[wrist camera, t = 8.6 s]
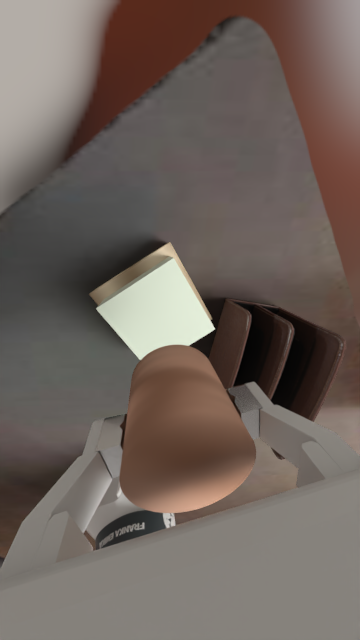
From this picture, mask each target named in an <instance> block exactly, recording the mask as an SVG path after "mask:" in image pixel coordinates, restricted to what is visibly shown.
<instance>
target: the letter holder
mask: <svg viewBox="0 0 360 640" xmlns="http://www.w3.org/2000/svg"><path fill="white" fill-rule="evenodd" d="M345 351H346V342H345V340H344V339H343V337H341V336H340V335H338V334H336V333H334V332H332V331H330V330H327V329H325V328H323V327H321V326H318V325H316V324H314V323H312V322H309V321H307V320H305V319H303V318H301V317H299V316H297V315H295V314H292V313H290V312H288V311H286V310H284V309H282V308H280V307H277V306H271V305H265V304H260V303H254V302H248V301H241V300H235V299H229V298H226V300H225V304H224V307H223V311H222V314H221V317H220V321H219V325H218V328H217V331H216V335H215V338H214V342H213V345H212V349H211V352H210V356H209V359H208V360H209V361H210V363H211V365H212V367H213V368H214V370H215V372H216V374H217V376H218V378H219V379H220V381H221V383H222V385H223V387H224V388H225V390H226V389H227V388H231V387H235V386H238V385H242V384H246V383H250V382H255V383H256V384H257V385H258V386H259V387H260V389H261V390H262V391H263V392H264V394H265V395H266V396H267V397H268V398H269V400H270V401H271V402H272V403H273V405H279V406H281V407H283V408H285V409H287V410H289V411H291V412H293V413H296V414H298V415H300V416H302V417H304V418H306V419H308V420H310V421H312V422H314V420H315V418H316V416H317V414H318V413H319V411H320V409H321V407H322V405H323V403H324V401H325V399H326V397H327V395H328V393H329V391H330V388H331V386H332V384H333V382H334V379H335V377H336V375H337V373H338V370H339V368H340V365H341V362H342V359H343V357H344V354H345ZM271 449H272V450H273V452H274V454H275V455H276V456H277V458H279V459H281V460H282V459H285V458H284V457H283V456H282V455H280V454H279V453H278V452H277V451H275V450H274V449H273V448H271Z"/></svg>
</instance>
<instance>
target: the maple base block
mask: <svg viewBox="0 0 360 640" xmlns="http://www.w3.org/2000/svg"><path fill="white" fill-rule="evenodd" d="M169 256H170V257H173V258H174V259H175V261H176V263H177V264H178V266H179V268H180V270H181V271H182V273H183V275H184V276H185V278H186V280H187V282H188V283H189V285H190V287H191V288H192V290H193V292H194V294H195V295H196V297H197V299H198V300H199V302H200V304H201V306H202V307H203V309H204V311H205V312H206V314H207V316H208V318H209V319H210V320H212V317H211V315H210V313H209V311H208V310H207V308H206V306H205V304H204V302H203V301H202V299H201V297H200V295H199V293H198V292H197V290H196V288H195V286H194V284H193V283H192V281H191V279H190V277H189V275H188V274H187V272H186V270H185V268H184V266H183V265H182V263H181V261H180V259H179V257H178V256H177V254H176V252H175V250H174V248H173V247H172V245H171V243H170V242H169V243H166V244H165V245H163V246H162V247H160V248H159V249H157V250H156V251H154V252H152V253H151V254H149V255H148V256H146V257H145V258H143V259H142V260H140V261H138V262H137V263H135V264H134V265H132V266H131V267H129V268H127V269H126V270H124V271H123V272H121V273H120V274H118V275H117V276H115V277H113V278H112V279H110V280H109V281H107V282H106V283H104V284H103V285H101V286H99V287H98V288H96V289H95V290H94V291H92V292H91V293H90V294H89V295H90V296H91V297H92V298H93V300H94V301H95V302H96V303H97V305H98V306H99V304H100V303H101V302H102V301H103V300H104V299H105V298H107V297H108V296H110V295H111V294H113V293H114V292H116V291H117V290H119V289H120V288H122V287H123V286H125V285H127V284H128V283H130V282H131V281H133V280H134V279H136V278H137V277H139V276H140V275H142V274H143V273H145V272H146V271H148V270H149V269H151V268H152V267H154V266H156V265H157V264H159V263H160V262H162V261H163V260H165V259H166V258H168V257H169Z"/></svg>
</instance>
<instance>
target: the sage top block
mask: <svg viewBox="0 0 360 640" xmlns="http://www.w3.org/2000/svg"><path fill="white" fill-rule="evenodd" d="M96 310H97V311H98V312H99V313H100V314H101V315H102V316H103V318H104V319H105V320H106V321H107V322H108V323H109V325H110V326H111V327H112V328H113V329H114V330H115V332H116V333H117V334H118V335H119V336H120V337H121V338H122V340H123V341H124V342H125V343H126V344H127V345H128V347H129V348H130V349H131V350H132V351H133V352H134V354H135V355H136V356H137V357H138V358H139V359H140V360H141V359H142V358H143V357H144V356H146V355H147V354H148V353H150V352H152V351H153V350H155V349H158V348H160V347H163V346H168V345H186V346H189V345H191V344H192V343H194V342H195V341H197V340H199V339H200V338H202V337H204V336H205V335H207V334H208V333H210V332H212V331H213V330H215V328H214V326H213V324H212V323H211V321H210V319H209V318H208V316H207V314H206V312H205V311H204V309H203V307H202V306H201V304H200V302H199V300H198V299H197V297H196V295H195V294H194V292H193V290H192V288H191V287H190V285H189V283H188V282H187V280H186V278H185V276H184V275H183V273H182V271H181V270H180V268H179V266H178V264H177V263H176V261H175V259H174V258H173V257H170V256H169V257H168V258H166V259H165V260H163V261H162V262H160V263H159V264H157V265H156V266H154V267H152V268H151V269H149V270H148V271H146V272H145V273H143V274H142V275H140V276H139V277H137V278H136V279H134V280H133V281H131V282H130V283H128V284H127V285H125V286H123V287H122V288H120V289H119V290H117V291H116V292H114V293H113V294H111V295H110V296H108V297H107V298H105V299H104V300H103V301H102V302H101V303H100V304H99V306H98V307H97V308H96Z"/></svg>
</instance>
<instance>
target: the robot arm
mask: <svg viewBox="0 0 360 640" xmlns="http://www.w3.org/2000/svg"><path fill="white" fill-rule="evenodd" d="M226 392H227V394H228V396H229V398H230V399H231V401H232V403H233V405H234V407H235V408H236V410H237V412H238V414H239V416H240V418H241V419H242V421H243V423H244V425H245V427H246V428H247V430H248V432H249V434H250V436H251V438H252V439H256V438H260V439H261V440H262V441H264V442H265V443H266V444H267V445H269V446H270V447H271V448H273V449H274V450H275V451H277V452H278V453H279V454H280V455H282V456H283V457H284V458H286V459H287V460H288V461H289V462H291V463H292V464H293V465H295V466H296V467H297V468H299V469H298V477H297V484H296V485H297V487H298V488H295V489H292V490H289V491H285V492H282V493H279V494H276V495H273V496H269V497H266V498H263V499H260V500H256V501H253V502H250V503H247V504H243V505H240V506H237V507H234V508H231V509H227V510H224V511H221V512H218V513H214V514H211V515H208V516H205V517H201V518H198V519H195V520H192V521H189V522H185V523H182V524H179V525H176V526H175V517H174V513H159V512H153V511H149V510H145V509H143V508H140V507H138V506H136V505H134V504H133V503H132V502H130V501H129V500H128V499H127V498H126V497H125V495H124V494H123V492H122V490H121V487H120V482H119V477H120V468H121V460H122V452H123V444H124V436H125V428H126V420H127V414H122V415H117V416H113V417H108V418H105V419H100V420H96V421H94V422H93V424H92V426H91V429H90V432H89V435H88V438H87V442H86V445H85V448H84V451H83V454H82V456H79V457H78V458H77V459H76V460H75V461H74V462H73V464H72V465H71V466H70V467H69V468H68V469H67V471H66V472H65V473H64V474H63V475H62V476H61V478H60V479H59V480H58V481H57V482H56V483H55V485H54V486H53V487H52V488H51V489H50V490H49V492H48V493H47V494H46V495H45V496H44V497H43V499H42V500H41V501H40V502H39V503H38V504H37V506H36V507H35V508H34V509H33V510H32V511H31V513H30V514H29V515H28V516H27V517H26V518H25V520H24V521H23V522H22V524H21V526H20V528H19V530H18V532H17V534H16V537H15V539H14V541H13V543H12V545H11V547H10V550H9V552H8V554H7V556H6V558H5V561H4V563H3V565H2V567H1V569H0V640H360V456H359V455H358V454H357V453H356V452H355V451H354V450H353V449H352V448H351V447H350V446H349V445H348V444H347V443H346V442H345V441H344V440H343V439H342V438H341V437H340V436H339V435H338V434H337V433H335V432H333V431H331V430H329V429H327V428H325V427H323V426H321V425H319V424H316V423H314V422H312V421H310V420H308V419H306V418H304V417H302V416H300V415H298V414H296V413H293V412H291V411H289V410H287V409H285V408H283V407H281V406H279V405H273V403H272V402H271V401H270V400H269V398H268V397H267V396H266V395H265V394H264V392H263V391H262V390H261V389H260V387H259V386H258V385H257V384H256V383H255V382H250V383H246V384H242V385H238V386H235V387H231V388H227V389H226ZM85 530H86V531H87V532H88V533H89V534H90V535H91V536H92V537H93V538H94V539H95V543H96V550H95V551H93V547H92V545H91V544H90V542H89V541H88V540H87V538H86V537H85V535H84V534H83V533H84V531H85Z"/></svg>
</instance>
